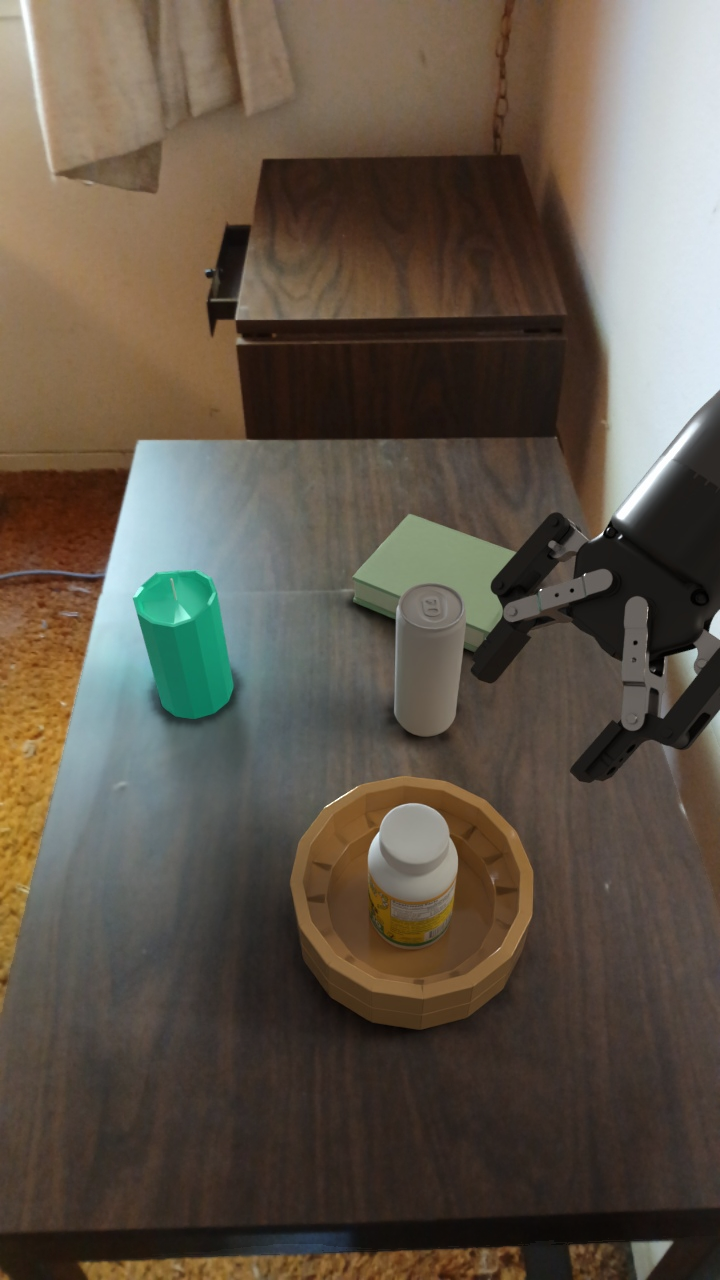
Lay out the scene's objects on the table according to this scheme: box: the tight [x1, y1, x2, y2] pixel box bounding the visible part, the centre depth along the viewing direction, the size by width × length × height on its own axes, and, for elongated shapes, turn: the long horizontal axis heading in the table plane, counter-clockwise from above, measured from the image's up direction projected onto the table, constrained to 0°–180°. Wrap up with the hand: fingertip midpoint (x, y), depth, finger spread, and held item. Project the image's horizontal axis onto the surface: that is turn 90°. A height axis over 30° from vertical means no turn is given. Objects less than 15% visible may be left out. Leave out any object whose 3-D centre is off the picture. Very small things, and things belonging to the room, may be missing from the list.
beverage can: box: [393, 583, 466, 738], centre depth 65 cm, size 5×5×12 cm
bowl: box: [289, 775, 534, 1031], centre depth 56 cm, size 15×15×5 cm
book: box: [352, 513, 532, 653], centre depth 77 cm, size 13×10×3 cm
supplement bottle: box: [368, 803, 458, 949], centre depth 54 cm, size 5×5×10 cm
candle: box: [132, 569, 235, 720], centre depth 67 cm, size 6×6×12 cm
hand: (528, 725), depth 50 cm, fingers open, 8 cm apart
